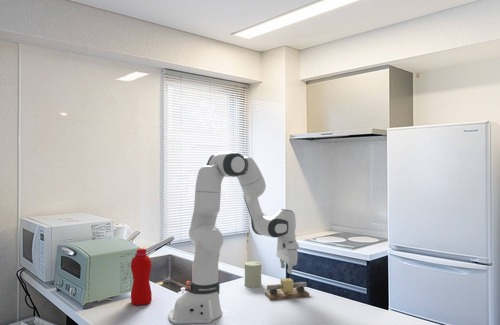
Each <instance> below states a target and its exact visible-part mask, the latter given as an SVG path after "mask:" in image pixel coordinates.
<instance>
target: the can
mask: <svg viewBox="0 0 500 325" xmlns="http://www.w3.org/2000/svg"><path fill="white" fill-rule="evenodd" d="M243 264H244V286H245V287H247V288H250V287H251V289H253V288H254V289H255V288H259V287H262V286H263V284H262V262H260V261H255V260H252V261H246V262H244V263H243Z"/></svg>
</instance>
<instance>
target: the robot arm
mask: <svg viewBox="0 0 500 325" xmlns="http://www.w3.org/2000/svg"><path fill="white" fill-rule="evenodd" d="M225 177H226V178H229V177H230V178H231V177H232V178H237V180H238V182H239V184H240V187H241V189H242V192H243V199H244V203H245V205H246V208H247V211H248V213H249V217H250V222H251V223H250V224H251V229H252V231H253V233H255V235H258V236H265V237H270V238H274V239H275V238H277V241H276V242H277V245H276V257H277V258H279V262H280V268H281V269H285V268H286V265H287V269H286V273H288V274H292V273H293V272H292V271H293V267H295V266H297V264H298V254H299V252H298V250H299V248H300V247H299V246H300V245H299V244H298V242H297V238H296V236H297V235H296V228H297V227H296V226H297V225H296V223H297V222H296V221H297V220H296V214H295V212H294V211H293V210H290V209H285V208H280V209H279V210H278V212H276V213H275V214H273V215H272V216H269V215H267V214H265V213H264V212H263V211H262V207H261V204H260V202H259V197H260V196H262V195H263V194H264V193H265V191H266V187H267V185H266V181H265V178H264V176H263V173H262V171H261V170H260V168H259V165H258V164H257V163H256V161H255V160H254V159H253V157H250V156H243V155H242V154H241V153H239V152H236V151H221V152H220V151H219V152H215V153H213V154H211V155H210V157H209V158H208V161H207V163H206V165H204V166H202V167H201V168H199V170H198V172H197V177H196V181H195V187H194V188H195V189H194V190H195V191H194V201H193V203H194V206H193V213H192V217H191V221H190V227H189V230H188V235H189V240H190V241H191V243H192V244H193V245H194V246H195V247H194V248H195V249H194V250H195V251H194V256H193V261H192V269H191V270H192V273H191V274H192V275H191V277H192V279H191V280H192V281H190V280H187V281H186V282H185V286H186V287H187V290H186V292H185V293H183V294H182V295H181V296H179V297H178V298H177V299H176V301H175V304H174V308H173V309H171V310H170V311H169V313H168V319H169V321H170V322H171V324H172V323H173V324H175V325H176V324H177V325H178V324H183V325H185V324H209V323H212V322H213V321H214V320H216V319H219V318H220V317H221V316H222V314H223V311H222V307H221V303H220V291H221V290H220V289H221V288H220V284H221V283H220V281H219V261H220V255H221V248H222V246H223V244H224V236H223V233H222V232H221V231H220V229H219V228H218V227H216V222H217V218H218V214H219V212H220V211H221V196H222V181H223V180H224V178H225ZM285 264H286V265H285Z"/></svg>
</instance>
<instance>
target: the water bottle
mask: <svg viewBox="0 0 500 325" xmlns="http://www.w3.org/2000/svg"><path fill="white" fill-rule="evenodd" d="M129 266H130V271H131V275H132V279H133V282H132V287H131V292H130V302H131V305H133V306H141V305H142V306H145V305H149V304H150V303H151V302H152V300H153V299H152V294H153V293H152V288H151V283H150V276H151V272H152V271H151V270H152V266H153V265H152V260H151V258H150V256H148V255H147V248H137V250H136V253H135V254H134V257H132V259H131V260H130V262H129V264H128V266H127V268H129ZM128 270H129V269H127V272H126V273H128ZM126 277H127V278H129V276H128V275H126Z"/></svg>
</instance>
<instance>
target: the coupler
mask: <svg viewBox="0 0 500 325" xmlns="http://www.w3.org/2000/svg"><path fill="white" fill-rule="evenodd" d="M293 283H294V280H293V279H292V278H290V277H288V278H286V277H285V278H280V285H281V289H280V290H281V292H282V293H283V294H288V293H293Z"/></svg>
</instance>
